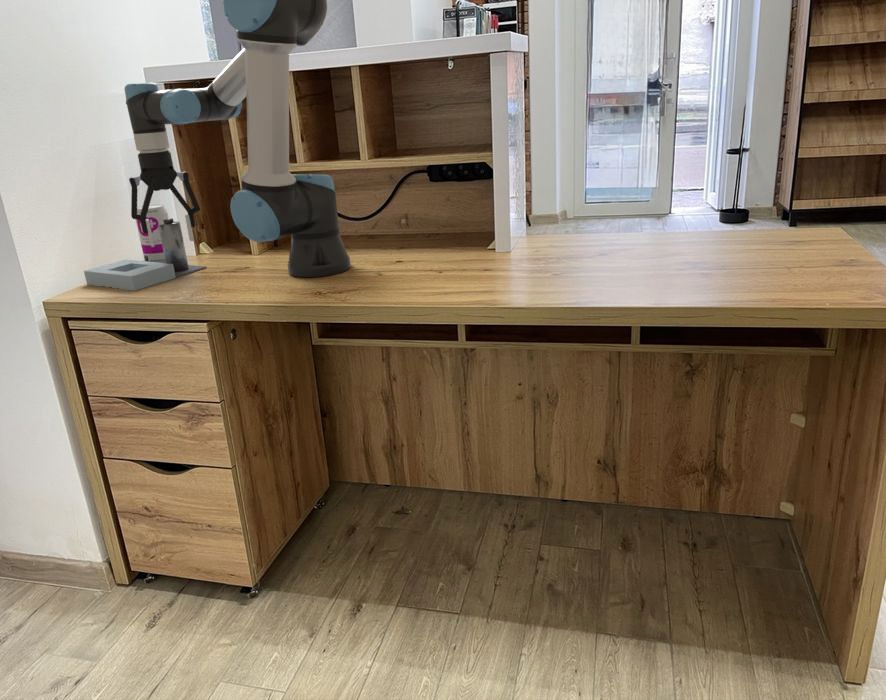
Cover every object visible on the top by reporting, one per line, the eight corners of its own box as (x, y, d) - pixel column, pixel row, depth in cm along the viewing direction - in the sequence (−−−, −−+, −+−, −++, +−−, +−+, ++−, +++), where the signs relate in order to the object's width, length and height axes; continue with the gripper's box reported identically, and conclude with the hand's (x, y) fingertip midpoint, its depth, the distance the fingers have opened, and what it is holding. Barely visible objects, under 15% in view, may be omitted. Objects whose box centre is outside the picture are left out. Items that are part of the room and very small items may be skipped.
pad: (206, 268, 182) (206, 266, 182) (175, 277, 174) (175, 276, 174) (180, 265, 186) (180, 264, 186) (149, 274, 178) (148, 273, 178)
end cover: (193, 268, 181) (183, 217, 176) (177, 273, 177) (166, 221, 172) (179, 266, 183) (169, 217, 179) (163, 271, 179) (152, 220, 174)
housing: (175, 277, 174) (172, 264, 172) (134, 290, 164) (131, 276, 163) (128, 272, 182) (125, 259, 181) (87, 284, 173) (83, 270, 172)
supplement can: (166, 265, 188) (154, 209, 183) (139, 265, 190) (126, 210, 185) (182, 257, 196) (171, 203, 191) (156, 258, 198) (145, 204, 192)
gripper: (197, 146, 177) (213, 234, 185) (105, 154, 169) (126, 246, 177) (201, 147, 170) (218, 239, 178) (105, 156, 162) (127, 252, 170)
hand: (172, 243), depth 177 cm, fingers open, 9 cm apart
